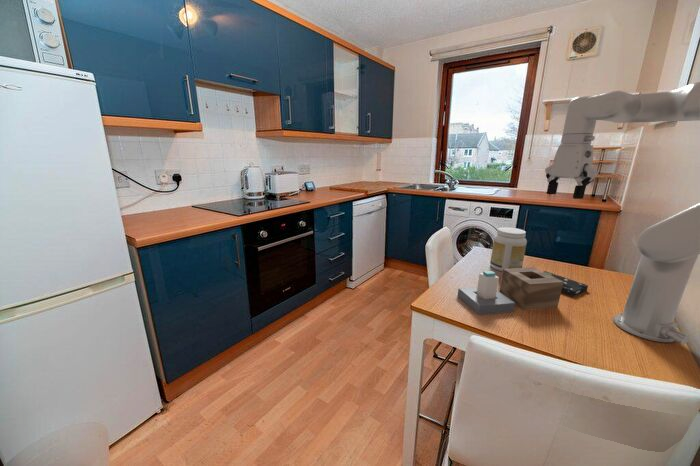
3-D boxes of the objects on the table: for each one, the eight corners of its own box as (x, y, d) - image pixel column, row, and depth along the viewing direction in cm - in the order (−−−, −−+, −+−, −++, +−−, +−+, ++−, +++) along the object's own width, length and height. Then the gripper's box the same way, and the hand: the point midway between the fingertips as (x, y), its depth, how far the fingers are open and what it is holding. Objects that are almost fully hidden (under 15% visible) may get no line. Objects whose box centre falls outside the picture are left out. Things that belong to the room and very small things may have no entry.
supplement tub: (521, 266, 125) (528, 229, 120) (521, 276, 115) (529, 235, 110) (490, 260, 131) (496, 225, 126) (488, 269, 121) (494, 231, 116)
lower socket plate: (513, 311, 89) (515, 302, 88) (478, 314, 87) (480, 305, 86) (488, 293, 100) (490, 285, 99) (457, 295, 98) (458, 287, 97)
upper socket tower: (557, 307, 92) (563, 281, 89) (524, 310, 90) (530, 284, 87) (528, 290, 103) (533, 267, 101) (499, 292, 101) (503, 268, 98)
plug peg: (494, 305, 92) (499, 274, 89) (483, 307, 91) (488, 275, 88) (486, 299, 96) (490, 269, 93) (475, 300, 95) (479, 270, 92)
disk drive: (586, 292, 104) (543, 276, 116) (588, 285, 103) (544, 270, 115) (572, 298, 99) (529, 281, 111) (575, 291, 98) (530, 275, 110)
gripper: (615, 140, 80) (600, 200, 85) (561, 142, 97) (551, 192, 101) (593, 139, 79) (579, 200, 84) (542, 141, 95) (532, 192, 100)
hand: (563, 196), depth 92 cm, fingers open, 9 cm apart
